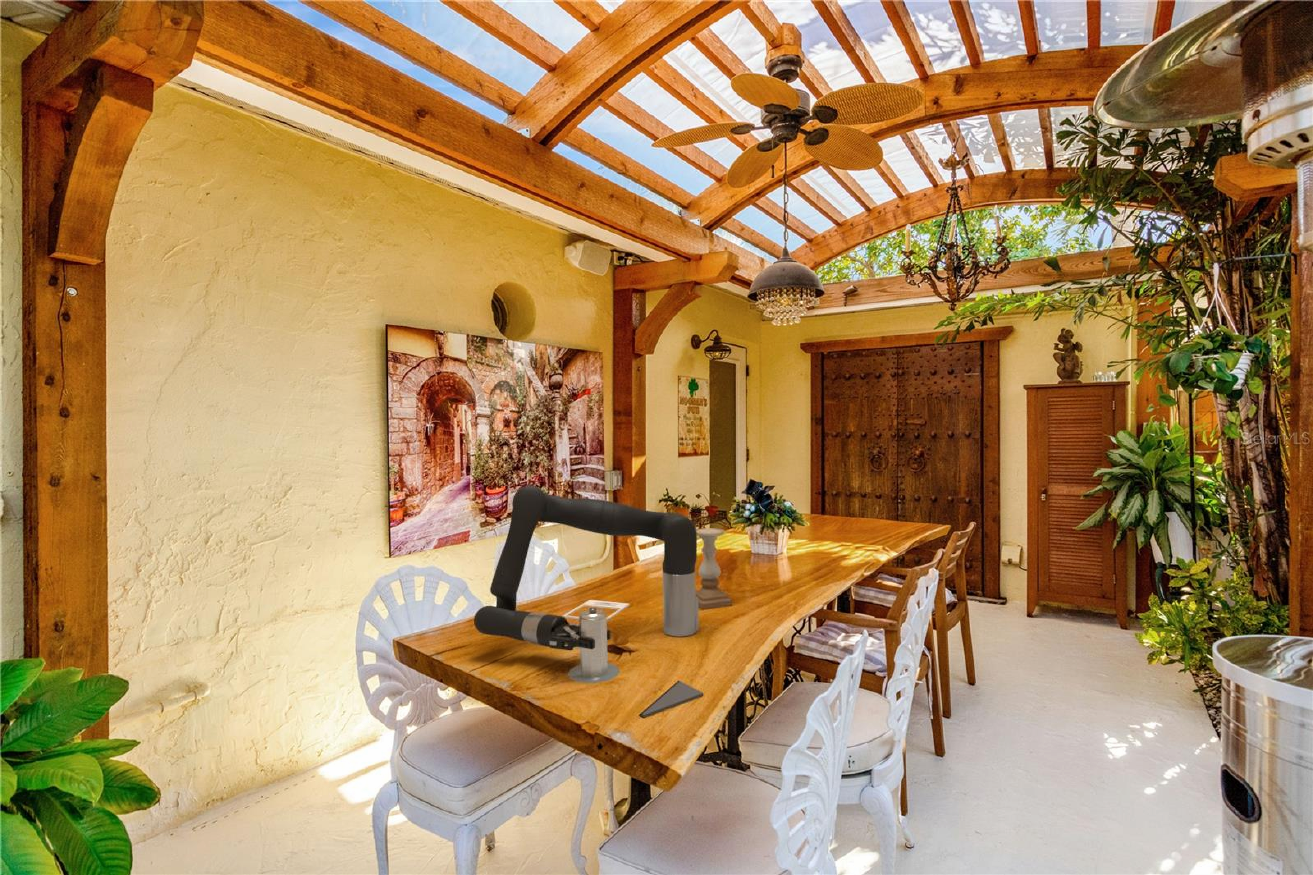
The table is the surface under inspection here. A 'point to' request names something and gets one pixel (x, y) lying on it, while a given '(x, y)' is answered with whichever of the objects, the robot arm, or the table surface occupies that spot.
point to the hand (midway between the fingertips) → (601, 639)
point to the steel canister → (595, 628)
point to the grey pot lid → (577, 676)
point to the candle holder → (710, 573)
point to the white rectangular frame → (601, 605)
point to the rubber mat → (672, 698)
